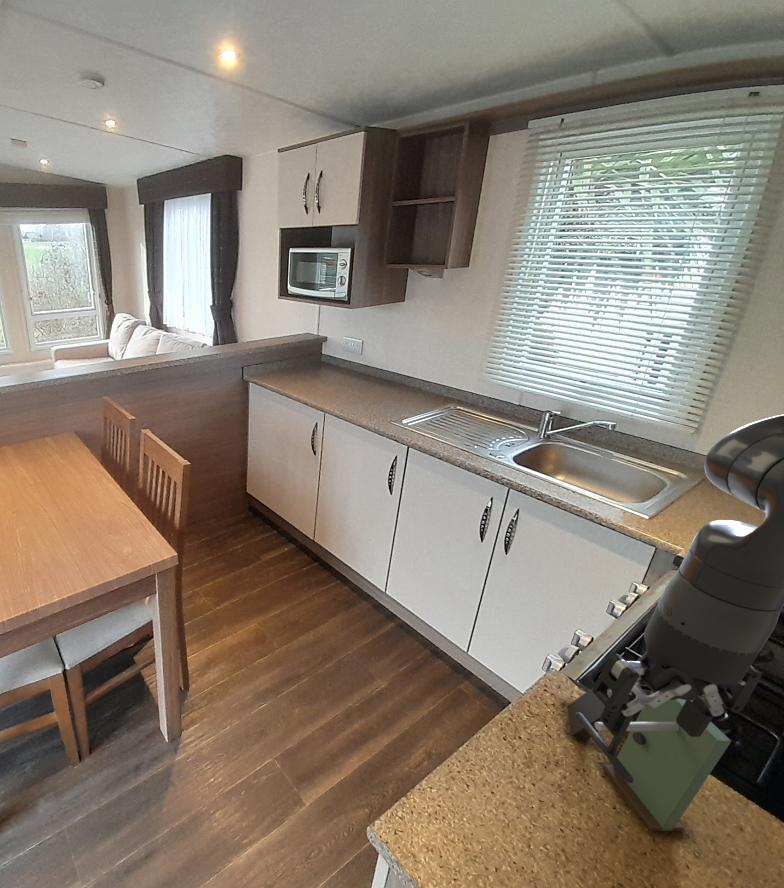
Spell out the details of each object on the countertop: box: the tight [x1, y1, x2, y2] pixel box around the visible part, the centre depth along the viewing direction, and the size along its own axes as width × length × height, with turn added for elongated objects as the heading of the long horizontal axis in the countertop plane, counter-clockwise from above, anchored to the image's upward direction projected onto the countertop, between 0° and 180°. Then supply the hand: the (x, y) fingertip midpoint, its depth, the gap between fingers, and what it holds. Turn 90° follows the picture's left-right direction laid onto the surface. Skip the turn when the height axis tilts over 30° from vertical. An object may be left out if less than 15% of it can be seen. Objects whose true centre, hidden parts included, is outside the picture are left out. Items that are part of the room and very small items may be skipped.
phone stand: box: [567, 680, 643, 742], centre depth 71 cm, size 9×6×12 cm, turn 59°
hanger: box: [575, 712, 633, 783], centre depth 60 cm, size 9×1×5 cm, turn 179°
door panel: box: [595, 691, 732, 832], centre depth 61 cm, size 8×12×18 cm, turn 89°
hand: (648, 729), depth 54 cm, fingers open, 8 cm apart
